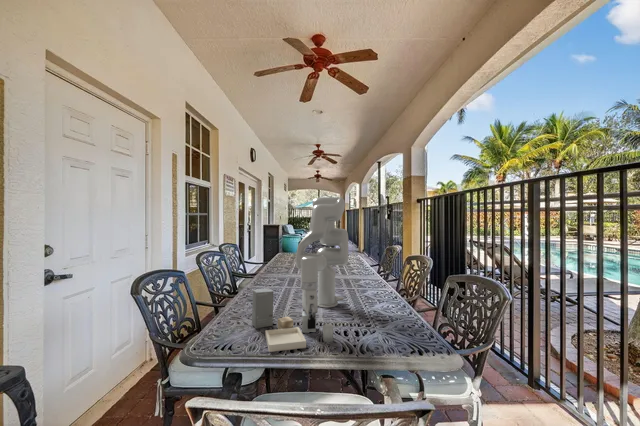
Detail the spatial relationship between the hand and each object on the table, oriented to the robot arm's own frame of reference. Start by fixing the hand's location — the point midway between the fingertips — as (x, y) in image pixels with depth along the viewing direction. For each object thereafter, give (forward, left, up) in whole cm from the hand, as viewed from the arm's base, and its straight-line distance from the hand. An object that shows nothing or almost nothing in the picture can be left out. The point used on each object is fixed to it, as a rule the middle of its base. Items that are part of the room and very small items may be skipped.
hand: (308, 324), depth 129 cm
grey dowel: (-5, +12, -3) cm, 13 cm away
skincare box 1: (+19, -11, -3) cm, 22 cm away
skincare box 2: (0, 0, -3) cm, 3 cm away
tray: (+12, +9, -3) cm, 15 cm away
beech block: (+10, -2, -3) cm, 10 cm away
